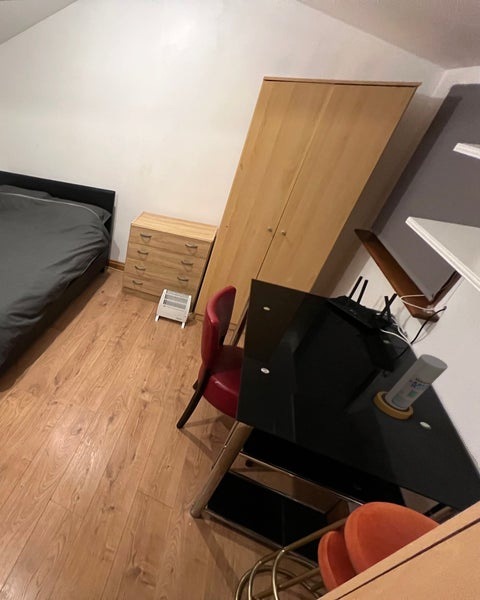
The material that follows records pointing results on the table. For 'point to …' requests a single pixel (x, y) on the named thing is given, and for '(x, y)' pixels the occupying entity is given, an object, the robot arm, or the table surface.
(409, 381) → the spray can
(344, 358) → the table surface
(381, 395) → the stand
